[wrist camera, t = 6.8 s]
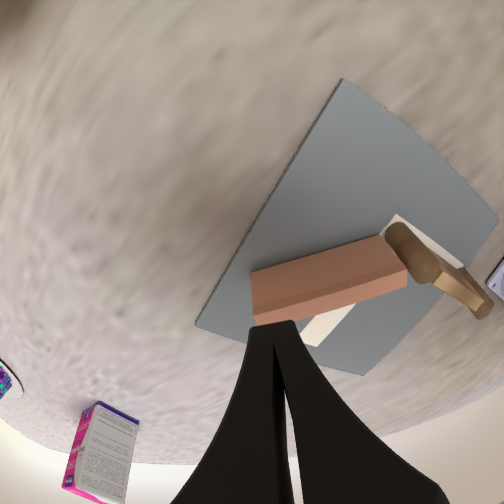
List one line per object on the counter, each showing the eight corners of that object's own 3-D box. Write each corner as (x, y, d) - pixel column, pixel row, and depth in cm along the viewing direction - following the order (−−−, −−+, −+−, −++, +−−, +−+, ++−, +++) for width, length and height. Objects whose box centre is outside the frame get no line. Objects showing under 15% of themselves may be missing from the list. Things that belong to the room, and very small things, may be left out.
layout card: (496, 217, 19) (500, 220, 19) (362, 372, 27) (363, 376, 27) (341, 78, 14) (344, 78, 14) (195, 322, 23) (194, 327, 22)
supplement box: (97, 398, 29) (76, 488, 19) (140, 421, 31) (128, 506, 21) (80, 411, 31) (60, 488, 21) (119, 431, 33) (106, 506, 23)
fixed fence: (465, 268, 22) (496, 304, 17) (453, 284, 22) (481, 321, 18) (392, 213, 19) (428, 252, 15) (376, 235, 19) (408, 277, 15)
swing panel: (379, 232, 19) (407, 269, 15) (381, 248, 19) (407, 285, 16) (249, 271, 20) (252, 315, 16) (255, 286, 20) (259, 330, 17)
